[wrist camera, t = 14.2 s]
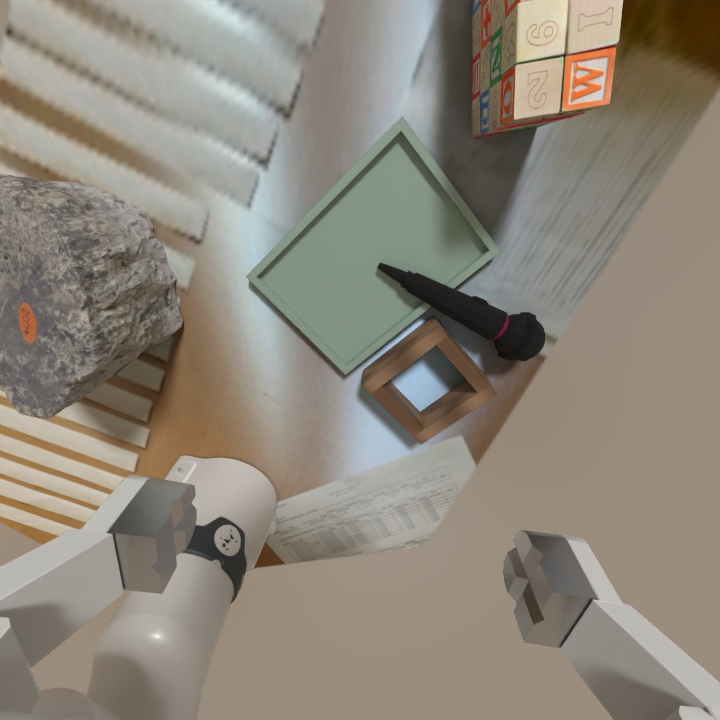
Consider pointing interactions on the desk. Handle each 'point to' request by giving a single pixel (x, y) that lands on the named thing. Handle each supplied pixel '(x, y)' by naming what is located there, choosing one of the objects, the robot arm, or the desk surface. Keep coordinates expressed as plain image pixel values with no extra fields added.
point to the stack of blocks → (540, 61)
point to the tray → (373, 250)
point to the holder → (445, 407)
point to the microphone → (476, 315)
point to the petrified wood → (75, 291)
